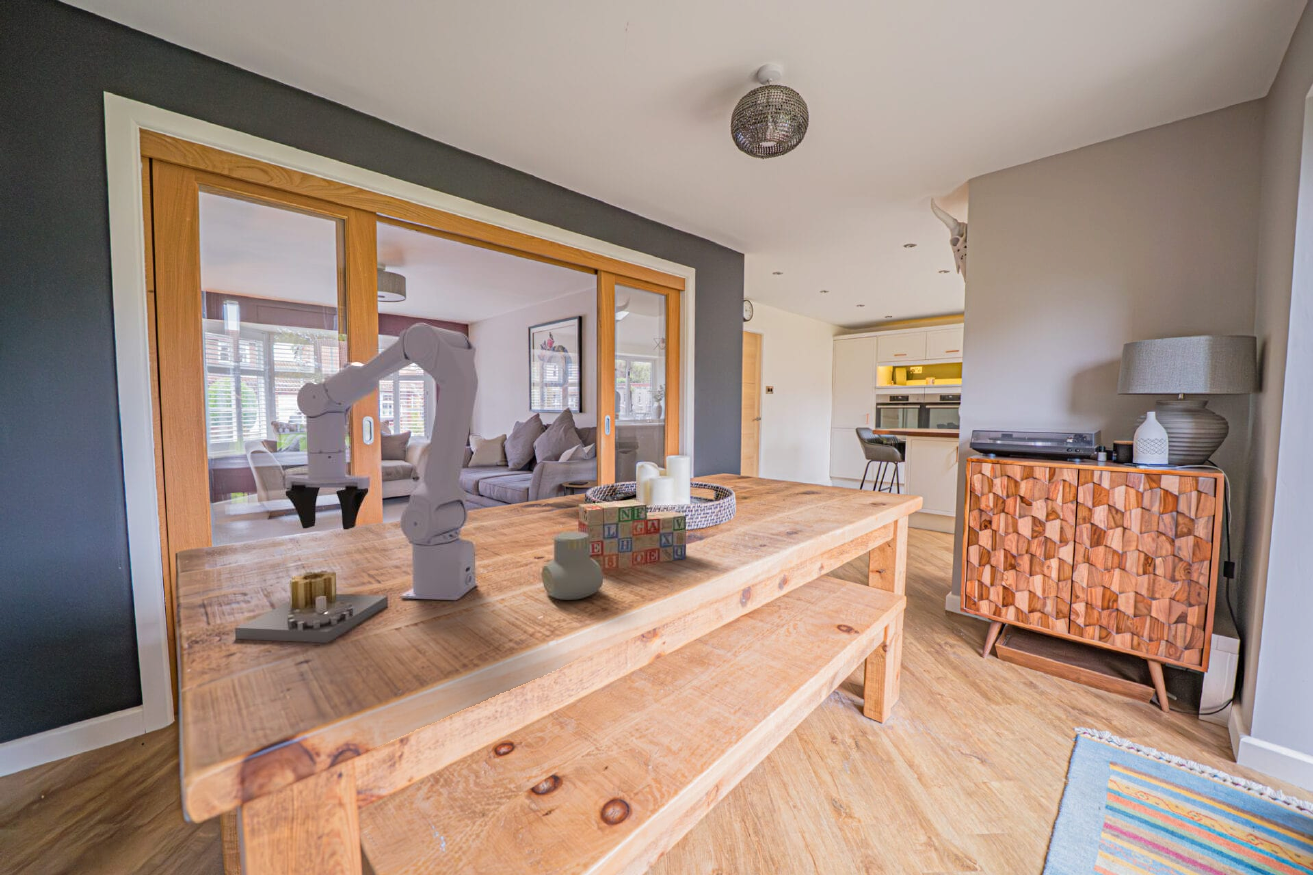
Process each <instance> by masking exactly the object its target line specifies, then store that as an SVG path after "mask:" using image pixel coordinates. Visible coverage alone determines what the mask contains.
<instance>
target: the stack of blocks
mask: <svg viewBox="0 0 1313 875" xmlns="http://www.w3.org/2000/svg"><path fill="white" fill-rule="evenodd" d="M647 506H648V504H646V503H644V502H641V501H638V500H636V499H630V500H616V501H615V500H614V501H607V502H595V503H583V504H582V503H581V504H578V518H579V519H578V520H577V522H578V523H577V524H578V528H577V529H578V531H577V532H583V533H586V534H588V535H589V536H590V558H592V559H594V560H595V561H596V562H597V563H598V564H599V566H600V568H601V570H602V571H607V570H616V569H623V568H631V567H635V566H636V567H637V566H643V565H649V564H648V563H651V564H655V563H656V564H657V563H663V562H671V561H679V559H680V560H686V558H687V515H685V514H683V513H680V512H677V511H675V510H666V511H665V510H664V511H651V512H648V511H647V510H648V509H647Z"/></svg>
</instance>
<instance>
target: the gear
mask: <svg viewBox="0 0 1313 875" xmlns="http://www.w3.org/2000/svg"><path fill="white" fill-rule="evenodd" d="M350 615H353V607H352V604H351V603H347V604H343V602H340V601H338V602H336V603H328V602H326V612H324V613H316V606H313V605H310V606H307V608H305V609H303V610H296V611H294V615H289V616H288V617H287V618H288V624H289V628H290V629H292V628H296V627H297V628H298V630H299V631H303V630H305V629H310V628H314V630H317V629H320V628H321V627H324V626H328V625H330V626H334V625H337V622H340V621H346V620H348V619H349V616H350Z"/></svg>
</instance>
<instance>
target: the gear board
mask: <svg viewBox="0 0 1313 875" xmlns="http://www.w3.org/2000/svg"><path fill="white" fill-rule="evenodd" d="M336 597H337V598H336V599H335V602H334V603H336V602H338V601H340V602H343V604H347V603H351V604H352V607H353V615H350V616H349V619H348V620H346V621H340V622H337V625H334V626H330V625H328V626H324V627H321V628H320V629H317V630H314V628H310V629H305V630H303V631H299V630H298V628H297V627H296V628H292V629H290V628H289V624H288V618H287V617H288V616H289V615H294V611H296V610H299V608H294V609H292V608H291V603H290V601H288V602H287V603H285V604H283V605H281V606H278V607H276V608H274V609H272V610H270V611H268V612H266V613H263V614H261V615H259V616H257V617H254V618H253V619H250V620H249V621H247V622H245V623H242V624H240V625H238V626H236V627H235V628H234V634H235V635H234V637H235V640H255V641H258V640H259V641H274V642H275V641H279V642H296V643H297V642H299V643H323V644H327V643H330V642H331V641H334V639H337V638H339V636H342V634H344V633H346V632H347V631H349V630H351V629H352V628H354V627H355V626H358V625H359V624H361V623H362V622H364V621H365V620H367V619H368V618H370V617H371V616H373V615H374V614H376V613H378V612H380V611H381V610H382V609H384V608H386V607H387V606H389V597H388V595H372V594H349V593H348V594H347V593H336ZM324 612H326V596H320V597H317V598H316V613H324Z"/></svg>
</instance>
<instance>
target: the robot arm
mask: <svg viewBox="0 0 1313 875" xmlns="http://www.w3.org/2000/svg"><path fill="white" fill-rule="evenodd" d="M476 351H477V348H476V346H475V344H473V342H472V341H471V340H470V338H468V335H466V334H465V333H463V332H460V331H457V330H449V329H445V328H441V327H436V326H433V325H430V324H428V323H424V322H417V323H415V324H413V325H411V326H409V328H408V329H404V330H402V331H400V333H399V335H398V339H397V340H395V341H394V342H392V343H391V344H389V346H387V347H386V348H384V349H383V350H382V351H380V352H379V353H377V354H376V355H375V356H374V357H372V358H371V359H369V360H368V361H366V362H365V363H361V362H346V363H345V364H343V368H342V369H341V370H339V371H338V372H336V373H334V374H333V375H331V376H326V377H325V378H324V380H323V381H321V382H318V383H317V382H305V383H304V385H303V386H302V387H300V389H299V391H298V393H297V395H296V396H297V397H296V402H297V407H298V410H299V411H300V412H301V413H302V414H303V415H304V416H305V417H306V419H305V420H306V423H305V424H306V448H307V449H306V450H307V453H306V454H307V456H306V457H307V458H306V459H307V475H303V474H302V475H301V474H299V475H298V474H297V475H294V474H293V475H287V476H285V477H284V487H285V488H290V490H289V489H288V490H285V496H286V497H287V498H288V500H290V502H291V504H292V506H293V507H294V509H295V511H296V512H297V515H298V518H299V521H300V523H301V527H302V529H309V528H312V527H315V526H316V520H317V518H316V517H317V516H316V510H317V509H316V506H317V499H318V494H319V491H320V488H329V489H331V488H333V489H334V488H335V489H338V488H339V489H340V488H341V490H336V496H337V499H338V501H339V505H340V509H341V524H342V528H343V530H346V531H347V530H350V529H354V528H355V526H356V522H357V518H358V514H359V511H360V508H361V506H362V503H363V502H364V500H365V498H366V496H367V494H368V493H369V488H370V487H371V481H370V480H371V478H370V476H361V475H348V474H347V455H346V453H347V452H346V426H347V425H348V424H347V423H349V419H348V418H349V414H350V413H351V411H352V409H353V405H355V404H356V403H358V402H359V401H361V400H363V399H364V398H366V397H368V396H369V395H371V394H373V393H374V392H376V391H377V390H378V387H379V381H381V380H383V379H385V378H388V377H389V376H391V375H393V374H395V373H396V372H399V371H400V370H402V369H404V368H406V367H408V366H410V365H412V364H415V365H417V366H418V367H419V368H420V369H422V370H423V371H425V373H427V374H428V375H429V376H431V377H432V378H433V380H434V382H435V383H436V384H437V385H438V387H439V393H438V399H437V404H436V409H435V415H434V420H433V426H432V432H431V435H430V436H431V437H430V443H429V446H428V447H429V448H428V454H427V458H426V462H425V463H426V464H425V468H424V475H423V478H422V479H423V480H422V481H421V483H420V484H419V485H418V486H417V488H415V490H413V492H412V493H411V494H410V496H409V500H408V503H407V506H406V507H405V509H403V511H402V513H401V516H400V528H401V531H402V533H403V535H404V536H405V538H406V539H407V540H408V543H409V544H411V548H412V549H411V552H412V553H411V556H412V560H411V562H412V565H411V566H412V587H411V589H409V590H407V591H406V592H403V593H402V594H401V596H400V597H401V598H402V599H413V600H415V599H416V600H417V599H418V600H443V601H457V600H459V599H460V598H462V597H463V596H464V595H465V594H467V593H468V592H469V591H470V590H472V589H473V588H474V587H475V586H477V585H478V581H476V578H477V577H476V548H475V545H474V543H473V541H472V540H467V539H462V538H461V537H459V536H461V534H462V533H461V530H462V528H463V527H464V526H465V525H466V523H467V521H468V514H469V513H468V508H467V496H468V494H467V492H466V491H465V490H464V489H463V488H462V487H461V486H460V485H459V484H460V480H461V474H462V470H463V464H464V460H465V452H466V448H467V444H468V438H469V434H470V429H471V428H470V427H471V423H472V418H473V412H474V407H475V402H476V397H477V391H478V387H479V380H478V373H477V369H476V364H475V357H476ZM343 488H344V489H343Z"/></svg>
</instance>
